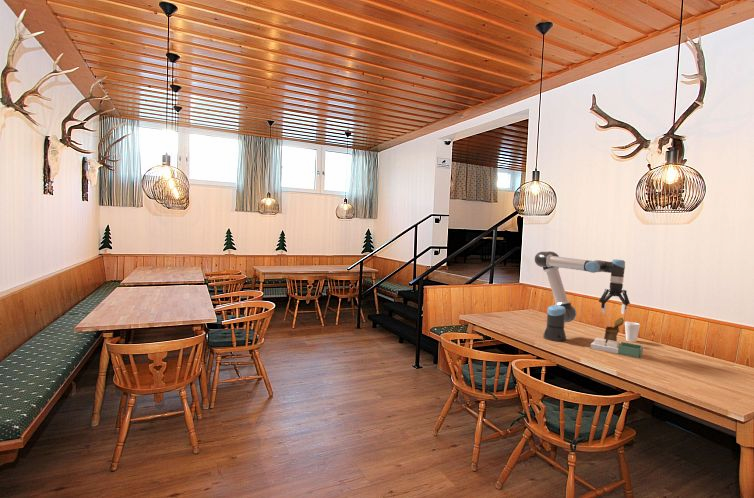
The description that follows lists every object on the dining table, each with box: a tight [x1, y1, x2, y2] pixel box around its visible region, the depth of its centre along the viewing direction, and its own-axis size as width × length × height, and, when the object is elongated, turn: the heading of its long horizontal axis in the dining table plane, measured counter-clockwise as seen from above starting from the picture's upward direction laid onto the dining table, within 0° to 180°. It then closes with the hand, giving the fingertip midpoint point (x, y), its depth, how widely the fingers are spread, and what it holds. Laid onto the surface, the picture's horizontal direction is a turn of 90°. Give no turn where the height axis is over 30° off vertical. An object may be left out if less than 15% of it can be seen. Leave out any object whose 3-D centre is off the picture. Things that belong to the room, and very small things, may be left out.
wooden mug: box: [603, 317, 625, 343], centre depth 288 cm, size 9×14×18 cm, turn 104°
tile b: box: [607, 340, 620, 348], centre depth 269 cm, size 6×6×3 cm
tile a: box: [593, 337, 606, 345], centre depth 274 cm, size 6×6×3 cm
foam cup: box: [624, 321, 641, 343], centre depth 298 cm, size 10×9×13 cm
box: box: [617, 341, 644, 359], centre depth 263 cm, size 12×12×6 cm
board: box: [590, 340, 621, 355], centre depth 272 cm, size 16×12×3 cm
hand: (613, 313), depth 276 cm, fingers open, 13 cm apart
